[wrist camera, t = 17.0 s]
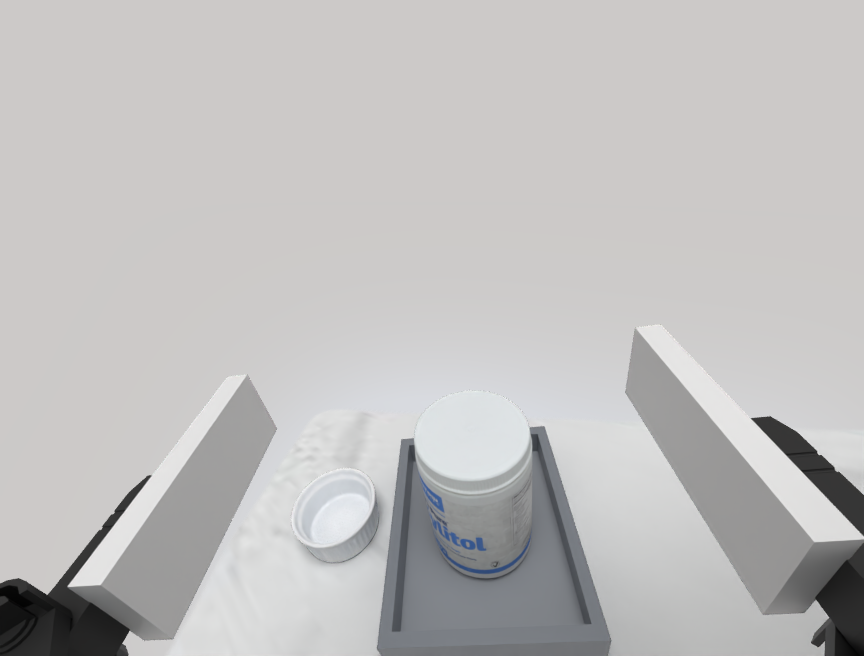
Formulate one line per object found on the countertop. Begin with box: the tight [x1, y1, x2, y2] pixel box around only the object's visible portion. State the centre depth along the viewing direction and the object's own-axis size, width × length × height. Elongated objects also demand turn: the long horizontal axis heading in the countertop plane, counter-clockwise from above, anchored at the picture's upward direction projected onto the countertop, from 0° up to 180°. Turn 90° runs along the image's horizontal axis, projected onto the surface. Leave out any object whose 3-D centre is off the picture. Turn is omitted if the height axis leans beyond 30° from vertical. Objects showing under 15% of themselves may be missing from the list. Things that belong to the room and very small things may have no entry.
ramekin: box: [291, 468, 379, 563], centre depth 40 cm, size 9×9×4 cm
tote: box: [377, 426, 611, 656], centre depth 36 cm, size 17×20×4 cm
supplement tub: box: [414, 390, 532, 578], centre depth 33 cm, size 10×10×15 cm
